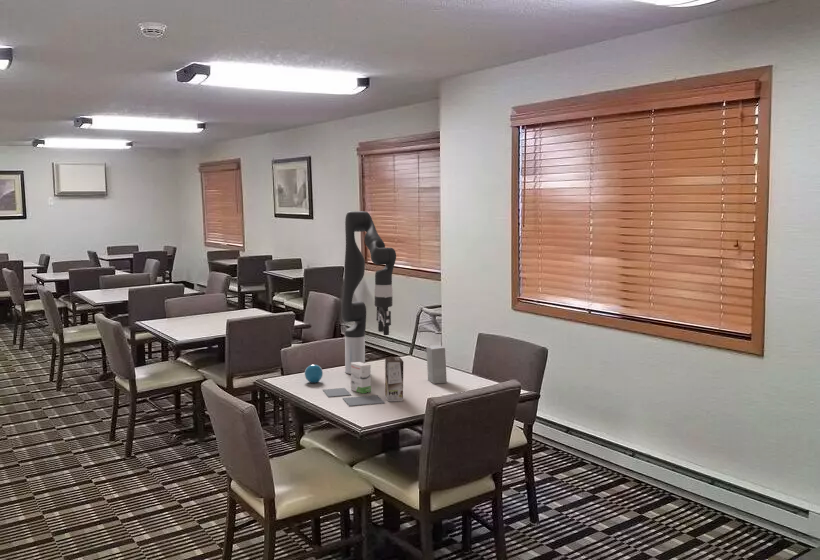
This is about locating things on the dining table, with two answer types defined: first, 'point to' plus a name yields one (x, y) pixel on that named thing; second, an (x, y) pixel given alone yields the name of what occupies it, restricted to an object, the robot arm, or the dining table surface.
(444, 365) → the skincare box
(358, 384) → the ink box
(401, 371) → the coffee box
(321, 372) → the ball
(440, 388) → the dining table surface
